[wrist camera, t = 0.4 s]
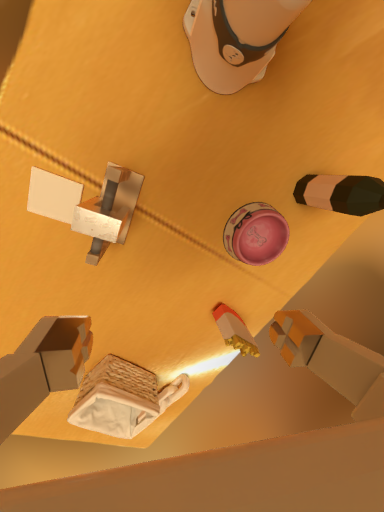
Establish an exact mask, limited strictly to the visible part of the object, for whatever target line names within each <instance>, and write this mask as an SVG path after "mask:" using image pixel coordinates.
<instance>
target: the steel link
mask: <svg viewBox="0 0 384 512" xmlns="http://www.w3.org/2000/svg"><path fill="white" fill-rule="evenodd" d="M102 201H103V198H101V197H99V196H96V197H94V198H92V199H89V200H87V201H85V202H82V203H80V204H78V205H76V206H75V210H74V215H73V220H72V225H71V230H73V231H76V232H79V233H83V234H86V235H89V236H93V237H96V238H99V239H103V240H106V241H109V242H113V243H116V241H117V239H118V237H119V236H120V234H121V232H122V230H123V228H124V226H125V224H126V221H127V217H128V214H129V211H130V208H129V207H126V206H123V207H122V208H121V209H120V210H119V212H118V213H115V212H113V211H110V210H107V209H104V208H101V205H102Z"/></svg>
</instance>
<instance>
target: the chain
mask: <svg viewBox="0 0 384 512" xmlns="http://www.w3.org/2000/svg"><path fill="white" fill-rule="evenodd" d="M181 383H182V386H181V387H180V389H179V388H178V387H177V386H178V385H179V384H181ZM188 389H189V378H188V377H187V376H186V375H185V374H180V375H179V376H178V377H177V378H176V379H175V380H173V381H172V382H171V383H170V385H169V386H168V387H166V388H165V389H164V390H163V391H162V392H160V393H159V394H158V400H159V406H160V415H161V414H162V413H163V412H164V411H165V410H166V408H167V407H168V406H170V405H171V404H172V403H173V402H175V401H177V400H178V399H179V398H180V397H182V396H183V395H184V394H185V393H186V392H187V391H188ZM167 396H168V397H167ZM160 415H159V416H160ZM144 417H146V411H142V412H141V413H140V414H139V416H138V423H139V422H140V421H141V420H143V419H144Z"/></svg>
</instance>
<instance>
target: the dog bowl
mask: <svg viewBox="0 0 384 512" xmlns="http://www.w3.org/2000/svg"><path fill="white" fill-rule="evenodd" d="M288 240H289V226H288V224H287V222H286V220H285V219H284V217H283V216H282V215H281V214H280V213H279V212H278V211H276V210H275V209H274V208H273V207H272V206H270V205H268V204H266V203H262V202H253V203H249V204H246V205H244V206H242V207H240V208H239V209H238V210H236V211H235V212H234V213H233V214H232V215H231V217H230V218H229V220H228V221H227V223H226V226H225V229H224V233H223V242H224V246H225V249H226V250H227V252H228V253H229V254H230V255H231V256H232V257H233V258H235V259H237V260H239V261H242V262H244V263H246V264H250V265H255V266H259V265H265V264H268V263H270V262H272V261H273V260H275V259H276V258H277V257H278V256H279V255H280V254H281V253H282V252H283V250H284V249H285V247H286V245H287V243H288Z"/></svg>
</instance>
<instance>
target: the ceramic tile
mask: <svg viewBox="0 0 384 512" xmlns="http://www.w3.org/2000/svg"><path fill="white" fill-rule="evenodd" d="M83 189H84V185H83V184H81V183H78V182H75V181H73V180H70V179H67V178H64V177H62V176H59V175H56V174H54V173H51V172H48V171H46V170H43V169H40V168H38V167H35V166H32V170H31V179H30V188H29V196H28V205H27V211H30V212H33V213H36V214H40V215H43V216H46V217H49V218H53V219H56V220H59V221H62V222H66V223H69V224H72V220H73V215H74V210H75V206H76V205H78V204H80V203H81V198H82V193H83Z"/></svg>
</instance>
